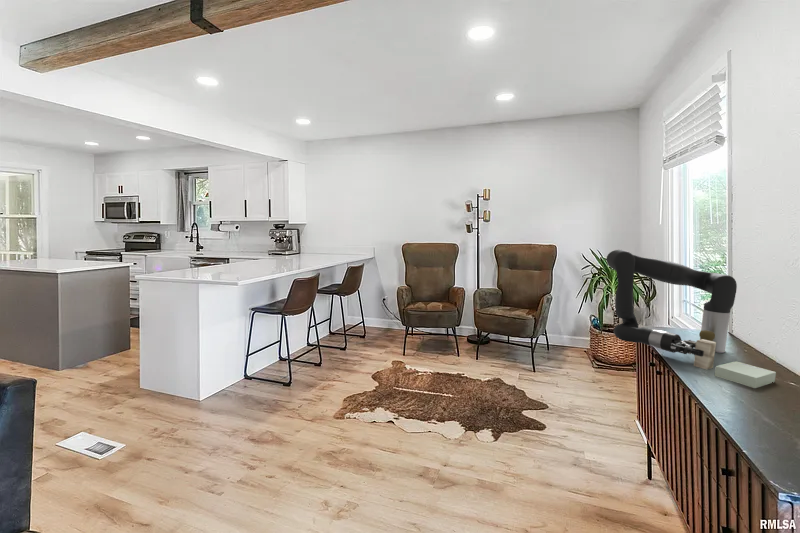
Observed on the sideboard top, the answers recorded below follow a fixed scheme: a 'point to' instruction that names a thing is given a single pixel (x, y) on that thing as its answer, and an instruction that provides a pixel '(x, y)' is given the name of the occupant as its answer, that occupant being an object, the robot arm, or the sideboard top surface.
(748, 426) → the sideboard top surface
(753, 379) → the sage block
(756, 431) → the sideboard top surface
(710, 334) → the brown rounded piece
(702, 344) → the maple block
